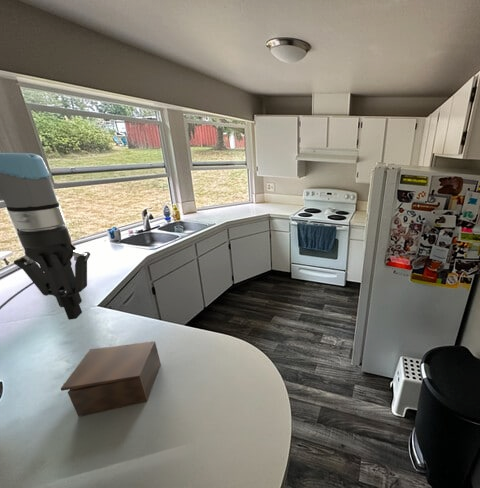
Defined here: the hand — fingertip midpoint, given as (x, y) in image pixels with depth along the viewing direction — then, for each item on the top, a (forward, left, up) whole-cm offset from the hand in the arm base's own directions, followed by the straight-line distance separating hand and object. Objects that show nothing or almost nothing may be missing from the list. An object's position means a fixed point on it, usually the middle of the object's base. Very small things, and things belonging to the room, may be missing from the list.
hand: (75, 315), depth 63 cm
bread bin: (+3, +4, -26) cm, 27 cm away
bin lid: (+3, +4, -17) cm, 18 cm away
